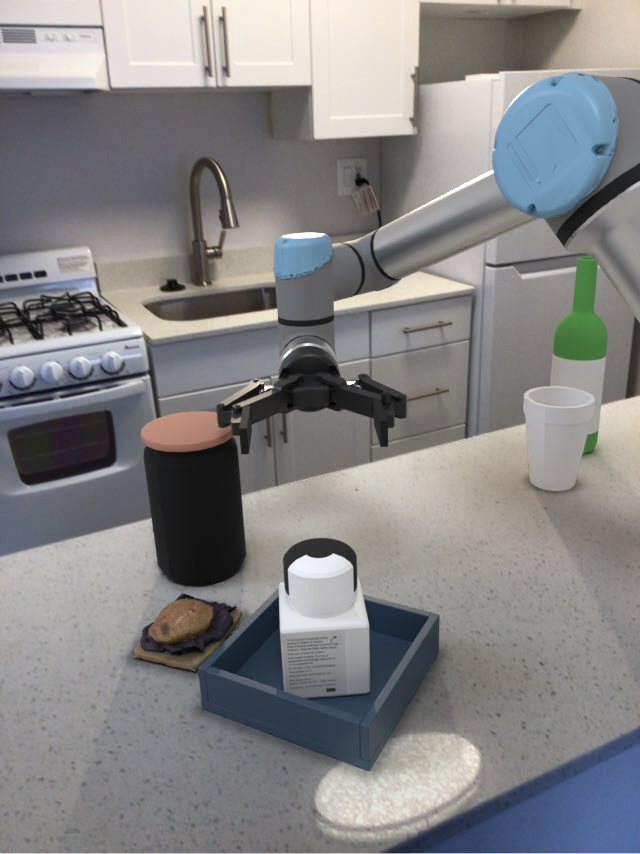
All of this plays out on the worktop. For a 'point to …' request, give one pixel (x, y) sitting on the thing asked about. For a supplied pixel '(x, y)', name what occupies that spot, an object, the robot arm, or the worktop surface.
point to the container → (323, 621)
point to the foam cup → (556, 434)
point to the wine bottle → (582, 345)
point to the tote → (327, 716)
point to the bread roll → (187, 632)
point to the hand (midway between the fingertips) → (314, 437)
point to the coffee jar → (194, 497)
